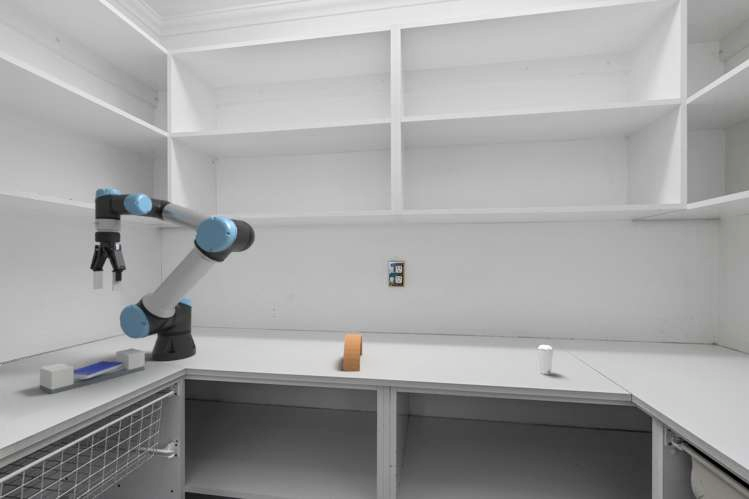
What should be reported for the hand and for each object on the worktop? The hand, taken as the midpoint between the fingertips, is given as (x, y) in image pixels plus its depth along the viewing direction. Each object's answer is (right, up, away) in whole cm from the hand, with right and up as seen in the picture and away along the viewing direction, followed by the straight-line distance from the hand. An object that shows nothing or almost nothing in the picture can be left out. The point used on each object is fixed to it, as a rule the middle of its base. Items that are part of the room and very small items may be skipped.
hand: (107, 289), depth 131 cm
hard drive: (+9, -25, -17) cm, 31 cm away
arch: (+90, -27, 0) cm, 94 cm away
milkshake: (+154, -26, -14) cm, 157 cm away
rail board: (+9, -26, -17) cm, 33 cm away
